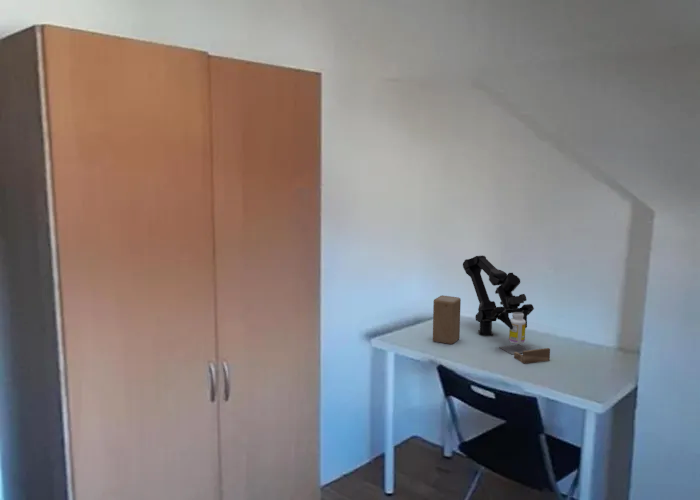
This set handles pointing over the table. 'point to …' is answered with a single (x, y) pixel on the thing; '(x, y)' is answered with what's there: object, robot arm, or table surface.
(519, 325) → the supplement bottle
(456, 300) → the wooden block
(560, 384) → the table surface
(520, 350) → the pad
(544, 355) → the shelf lane
